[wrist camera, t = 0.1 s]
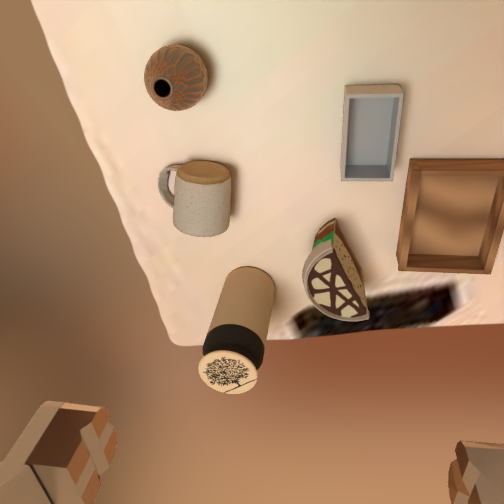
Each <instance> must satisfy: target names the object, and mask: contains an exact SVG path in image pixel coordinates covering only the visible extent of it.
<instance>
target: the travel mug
mask: <svg viewBox="0 0 504 504" xmlns="http://www.w3.org/2000/svg"><path fill="white" fill-rule="evenodd" d="M274 293H275V286H274V283H273V281H272V279H271V278H270V277H269V276H268V275H267V274H266V273H264V272H263V271H261V270H259V269H256V268H252V267H242V268H238V269H236V270H234V271H232V272H231V273H230V274H229V275H228V276H227V278H226V281H225V283H224V286H223V289H222V292H221V295H220V298H219V301H218V304H217V307H216V310H215V313H214V316H213V319H212V322H211V324H210V327H209V330H208V333H207V336H206V339H205V342H204V345H203V355H204V357H203V358H202V359H201V361H200V363H199V367H198V370H199V374H200V376H201V378H202V380H203V381H204V382H205V383H206V384H207V385H208V386H210V387H211V388H213V389H215V390H217V391H220V392H223V393H228V394H239V393H243V392H246V391H248V390H250V389H251V388H253V387H254V385H255V384H256V382H257V379H258V373H257V370H258V369H259V368H260V366H261V364H262V361H263V355H264V350H265V344H266V339H267V333H268V327H269V322H270V316H271V310H272V305H273V299H274Z"/></svg>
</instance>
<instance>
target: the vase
mask: <svg viewBox="0 0 504 504" xmlns="http://www.w3.org/2000/svg"><path fill="white" fill-rule="evenodd" d="M144 81H145V86H146V89H147V92H148V94H149V95H150V97H151V98H152V99H153V100H154V102H156V103H157V104H158V105H159V106H161V107H163V108H165V109H168V110H173V111H181V110H186V109H188V108H191V107H192V106H194V105H195V104H196V103H198V101H199V100H200V99H201V98H202V96H203V95H204V93H205V91H206V87H207V82H208V75H207V70H206V67H205V64H204V62H203V60H202V59H201V57H200V56H199V55H198V54H197V53H196V52H195V51H193V50H192V49H190V48H188V47H186V46H183V45H168V46H165V47H162V48H160V49H159V50H157V51H156V52H155V53H154V54H153V55H152V56H151V57H150V59H149V60H148V62H147V65H146V68H145V73H144Z"/></svg>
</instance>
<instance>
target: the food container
mask: <svg viewBox="0 0 504 504" xmlns="http://www.w3.org/2000/svg"><path fill="white" fill-rule="evenodd" d="M302 277H303V283H304V287H305V291H306V294H307V296H308V298H309V299H310V300H311V302H312V303H313V305H314V306H315V307H316V308H317V309H318V310H320V311H321V312H322V313H324V314H326V315H328V316H330V317H332V318H335V319H339V320H344V321H361V320H366V319H369V311H368V309H367V302H366V296H365V289H364V282H363V276H362V269H361V267H360V265H359V263H358V261H357V259H356V257H355V255H354V253H353V252H352V250H351V248H350V246H349V244H348V242H347V240H346V238H345V236H344V234H343V232H342V230H341V228H340V226H339V224H338V222H337V220H336V218H334V219H332V220H330V221H328V222H327V223H326V224H325V225H323V226H322V227H321V228H320V229H319V231H318V233H317V235H316V236H315V240H314V245H313V249H312V252H311V254H310V255H309V256H308V258H307V260H306V261H305V264H304V267H303V273H302Z"/></svg>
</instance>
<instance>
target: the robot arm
mask: <svg viewBox="0 0 504 504" xmlns="http://www.w3.org/2000/svg"><path fill="white" fill-rule="evenodd" d="M109 417H110V414H109V412H108V410H107V407H99V406H89V405H80V404H72V403H65V402H54V401H46V402H45V403H44V404H42V405H41V406H40V407H39V409H38V410H37V412H36V413H35V415H34V416H33V418H32V419H31V421H30V422H29V423H28V425H27V427H26V428H25V429H24V431H23V432H22V434H21V435H20V437H19V439H18V440H17V441H16V443H15V445H14V446H13V447H12V449H11V450H10V452H9V453H8V455H7V456H6V458H5V459H4V461H3V462H1V461H0V504H93V502H94V500H95V498H96V496H97V493H98V491H99V489H100V487H101V481H100V474H101V473H102V472H104V471H105V470H106V469H107V468H109V466H110V464H111V462H112V460H113V457H114V455H115V450H116V445H117V434H116V431H115V428H114V427H113V426H112V425H111V424H109V423H108V422H107V421H108V419H109ZM455 453H456V456H457V459H456V460H454V461H452V462H451V464H450V468H449V473H448V487H449V495H450V499H451V504H504V444H496V443H484V442H472V441H459V442H458V443H457V445H456V448H455Z"/></svg>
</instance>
